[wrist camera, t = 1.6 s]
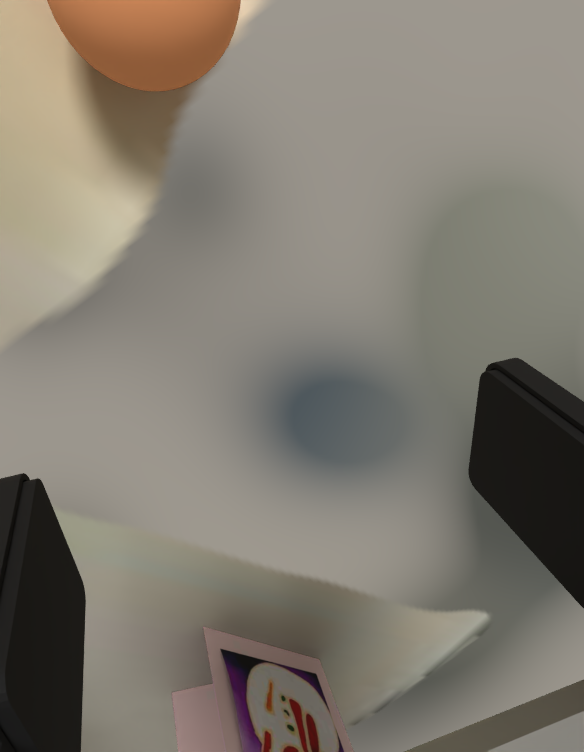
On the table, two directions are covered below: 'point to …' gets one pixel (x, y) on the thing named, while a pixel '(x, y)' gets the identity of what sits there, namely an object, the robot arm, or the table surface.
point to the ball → (148, 38)
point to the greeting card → (258, 702)
